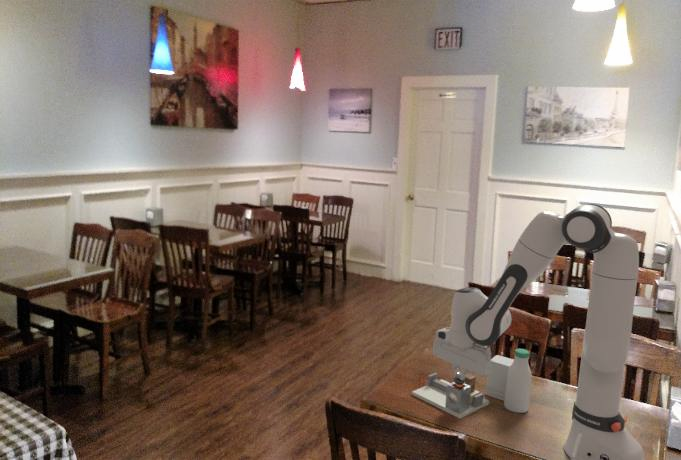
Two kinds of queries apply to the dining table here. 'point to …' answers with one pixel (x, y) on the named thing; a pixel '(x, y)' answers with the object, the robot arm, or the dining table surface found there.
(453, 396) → the cabinet
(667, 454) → the dining table surface
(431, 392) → the rail bed
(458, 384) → the knob
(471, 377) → the carriage
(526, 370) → the milk bottle
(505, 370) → the supplement box
